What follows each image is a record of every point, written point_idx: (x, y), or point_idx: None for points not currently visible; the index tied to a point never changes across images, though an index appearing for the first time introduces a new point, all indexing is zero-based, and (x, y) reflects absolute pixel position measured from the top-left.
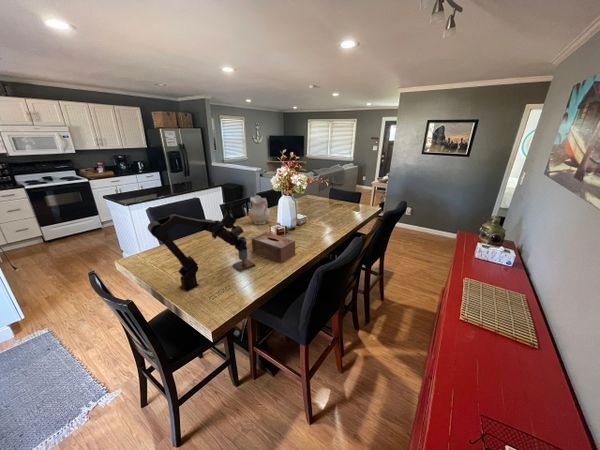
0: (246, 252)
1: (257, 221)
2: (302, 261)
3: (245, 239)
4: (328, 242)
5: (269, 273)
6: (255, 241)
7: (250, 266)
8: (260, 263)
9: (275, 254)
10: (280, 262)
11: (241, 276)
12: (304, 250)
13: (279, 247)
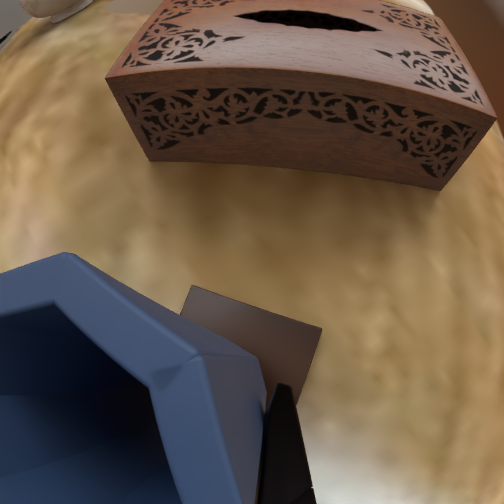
0: (258, 374)
1: (63, 8)
2: (491, 136)
3: (231, 416)
4: (415, 3)
5: (472, 350)
6: (160, 85)
7: (306, 374)
8: (330, 271)
9: (412, 151)
10: (434, 189)
11: (326, 501)
12: None
13: (479, 108)
